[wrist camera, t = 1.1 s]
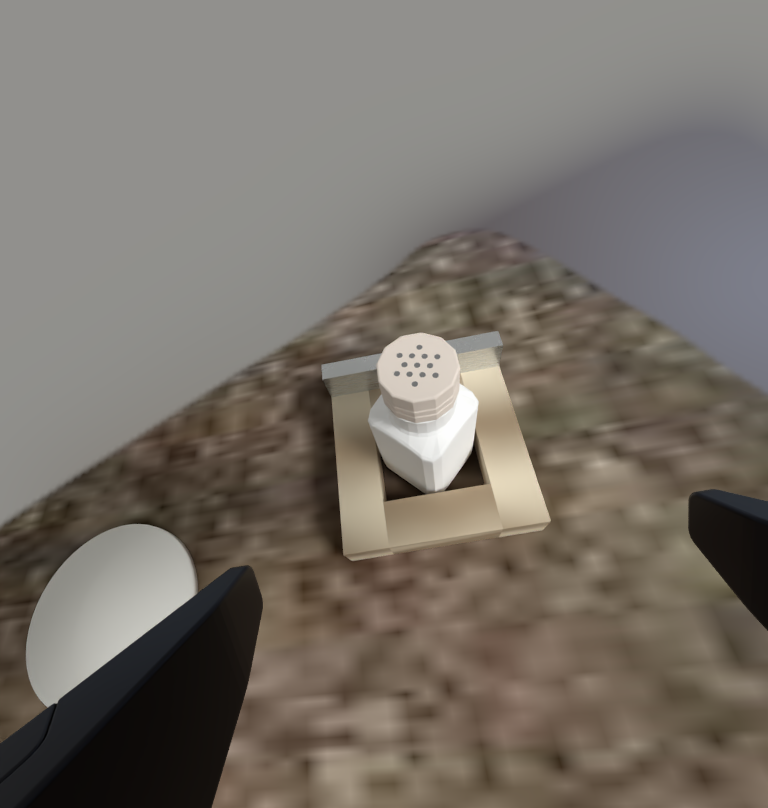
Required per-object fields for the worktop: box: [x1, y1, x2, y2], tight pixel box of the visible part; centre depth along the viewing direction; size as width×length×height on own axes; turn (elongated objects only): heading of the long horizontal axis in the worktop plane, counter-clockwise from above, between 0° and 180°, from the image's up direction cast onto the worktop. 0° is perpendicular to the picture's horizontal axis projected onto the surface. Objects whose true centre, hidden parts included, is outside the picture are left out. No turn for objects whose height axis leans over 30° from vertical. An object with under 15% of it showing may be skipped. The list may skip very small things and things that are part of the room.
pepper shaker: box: [368, 333, 479, 495], centre depth 19 cm, size 4×4×10 cm
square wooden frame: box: [322, 331, 551, 561], centre depth 22 cm, size 10×10×4 cm
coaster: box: [26, 524, 198, 707], centre depth 21 cm, size 9×9×1 cm
